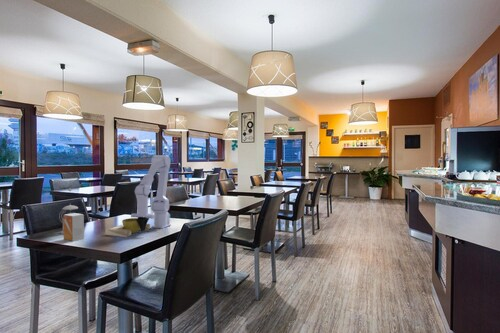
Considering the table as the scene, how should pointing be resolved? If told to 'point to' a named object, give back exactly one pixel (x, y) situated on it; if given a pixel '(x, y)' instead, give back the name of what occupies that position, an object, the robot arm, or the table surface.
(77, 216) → the small box
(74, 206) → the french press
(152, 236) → the table surface
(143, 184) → the robot arm
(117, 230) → the beige crumpled cloth
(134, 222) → the flower pot
